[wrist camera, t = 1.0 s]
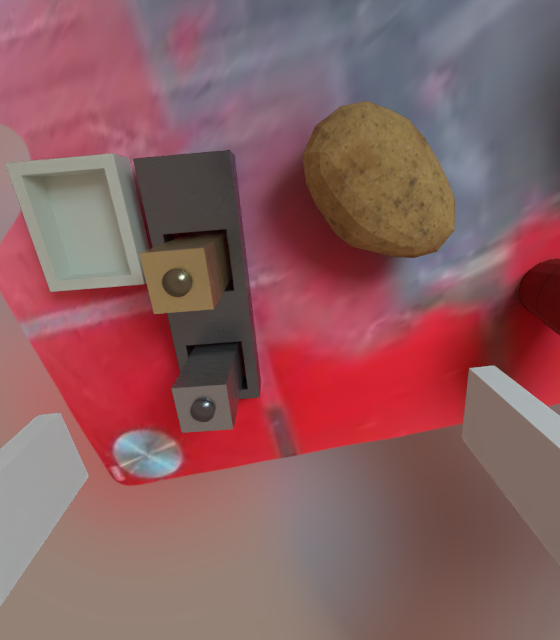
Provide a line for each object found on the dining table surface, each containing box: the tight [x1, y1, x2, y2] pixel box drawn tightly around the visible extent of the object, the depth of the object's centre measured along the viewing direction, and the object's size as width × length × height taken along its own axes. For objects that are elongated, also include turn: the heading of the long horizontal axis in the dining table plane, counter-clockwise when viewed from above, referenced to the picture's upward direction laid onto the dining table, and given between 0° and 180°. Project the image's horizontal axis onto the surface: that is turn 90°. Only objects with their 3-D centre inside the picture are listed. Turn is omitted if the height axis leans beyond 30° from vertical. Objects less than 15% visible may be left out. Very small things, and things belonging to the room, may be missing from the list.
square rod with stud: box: [171, 341, 244, 433], centre depth 31 cm, size 4×4×10 cm
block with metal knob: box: [139, 233, 232, 314], centre depth 27 cm, size 4×4×10 cm
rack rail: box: [133, 150, 261, 399], centre depth 32 cm, size 24×8×3 cm, turn 5°
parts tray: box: [5, 153, 150, 292], centre depth 29 cm, size 11×9×3 cm
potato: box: [302, 101, 455, 258], centre depth 26 cm, size 10×14×8 cm
